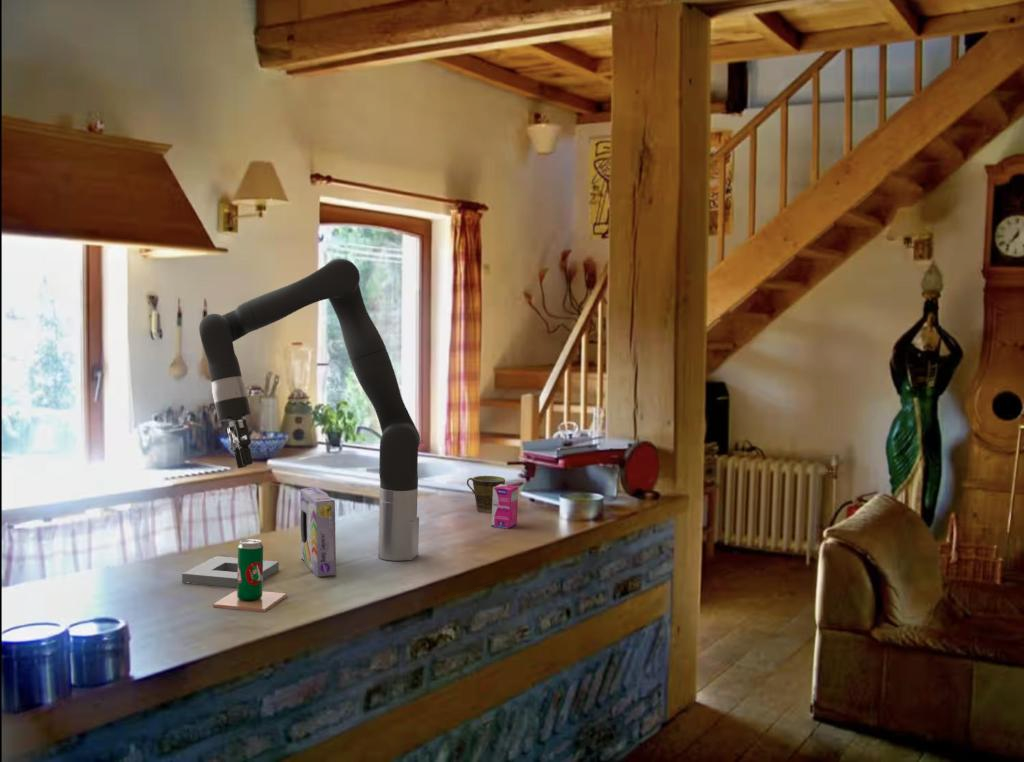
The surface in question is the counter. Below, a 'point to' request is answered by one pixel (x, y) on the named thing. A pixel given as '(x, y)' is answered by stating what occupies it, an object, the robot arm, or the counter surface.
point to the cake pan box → (318, 531)
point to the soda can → (250, 570)
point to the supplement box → (504, 506)
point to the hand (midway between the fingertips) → (245, 466)
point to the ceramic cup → (485, 491)
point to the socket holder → (222, 572)
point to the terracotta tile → (250, 602)
